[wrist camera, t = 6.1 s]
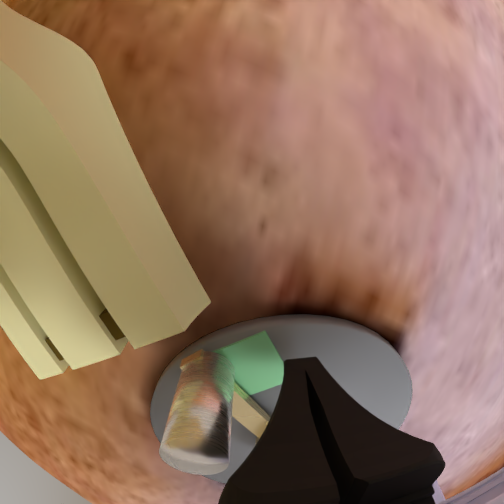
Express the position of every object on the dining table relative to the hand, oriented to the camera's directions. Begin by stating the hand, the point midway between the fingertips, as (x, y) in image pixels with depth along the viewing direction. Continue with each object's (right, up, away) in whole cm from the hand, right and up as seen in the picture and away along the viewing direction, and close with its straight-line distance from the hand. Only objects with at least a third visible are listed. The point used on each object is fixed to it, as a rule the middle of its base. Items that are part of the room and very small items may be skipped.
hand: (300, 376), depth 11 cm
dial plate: (0, -5, +4) cm, 7 cm away
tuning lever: (-2, -3, +2) cm, 4 cm away
